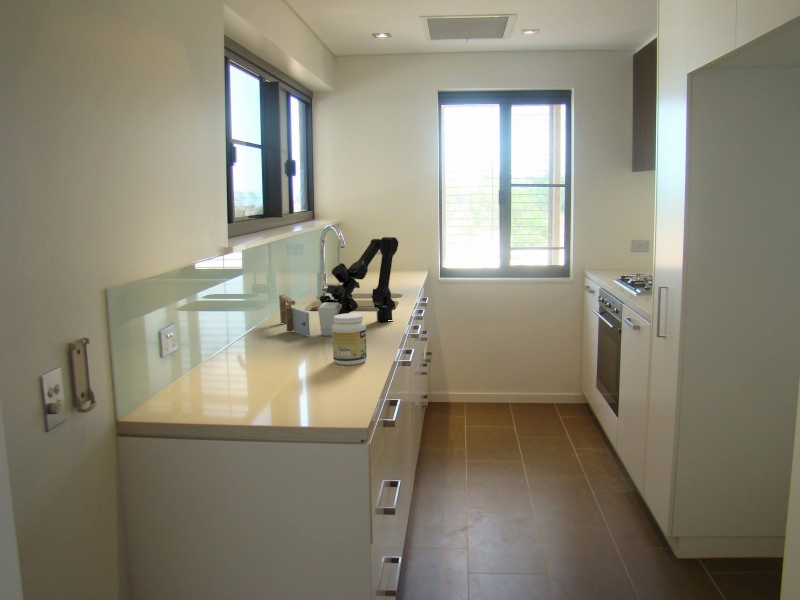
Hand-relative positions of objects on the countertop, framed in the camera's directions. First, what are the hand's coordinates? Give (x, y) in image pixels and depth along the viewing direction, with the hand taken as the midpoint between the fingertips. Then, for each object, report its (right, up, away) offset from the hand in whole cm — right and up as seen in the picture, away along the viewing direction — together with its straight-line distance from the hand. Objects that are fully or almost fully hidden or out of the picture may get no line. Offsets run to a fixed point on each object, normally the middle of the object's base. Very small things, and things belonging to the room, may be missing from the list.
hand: (329, 318), depth 299 cm
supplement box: (+1, -7, +3) cm, 7 cm away
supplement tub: (+12, -15, -46) cm, 50 cm away
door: (-13, -7, +5) cm, 16 cm away
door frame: (-21, -5, +20) cm, 30 cm away
